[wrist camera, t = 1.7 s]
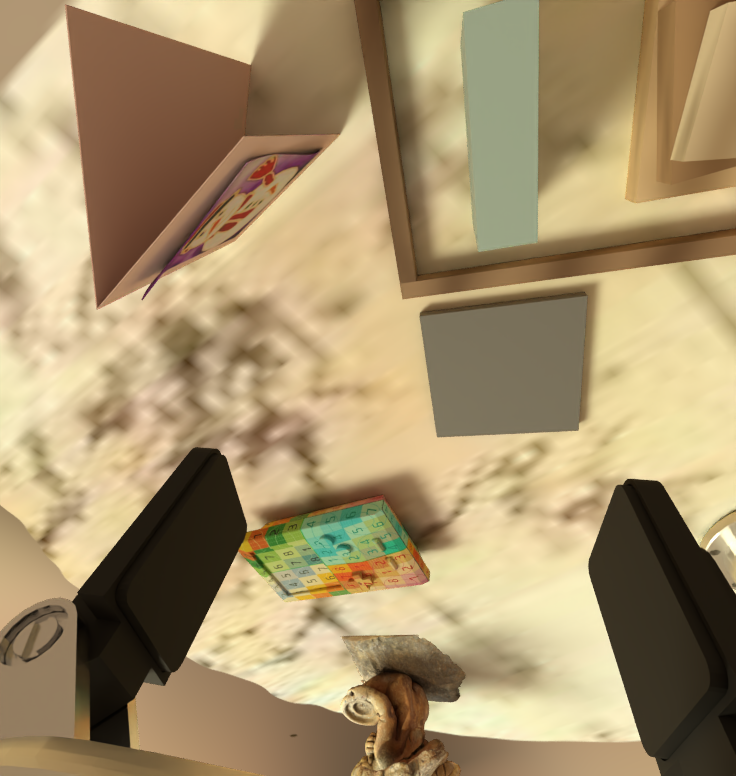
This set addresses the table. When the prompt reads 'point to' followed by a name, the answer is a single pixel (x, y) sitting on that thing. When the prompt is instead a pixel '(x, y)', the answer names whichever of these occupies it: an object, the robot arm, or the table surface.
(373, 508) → the puzzle game
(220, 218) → the greeting card
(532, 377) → the mat
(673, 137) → the offcut mid
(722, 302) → the table surface
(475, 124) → the pale teal block
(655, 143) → the offcut large
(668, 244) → the brown wooden frame
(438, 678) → the cherub figurine
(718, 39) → the offcut small
